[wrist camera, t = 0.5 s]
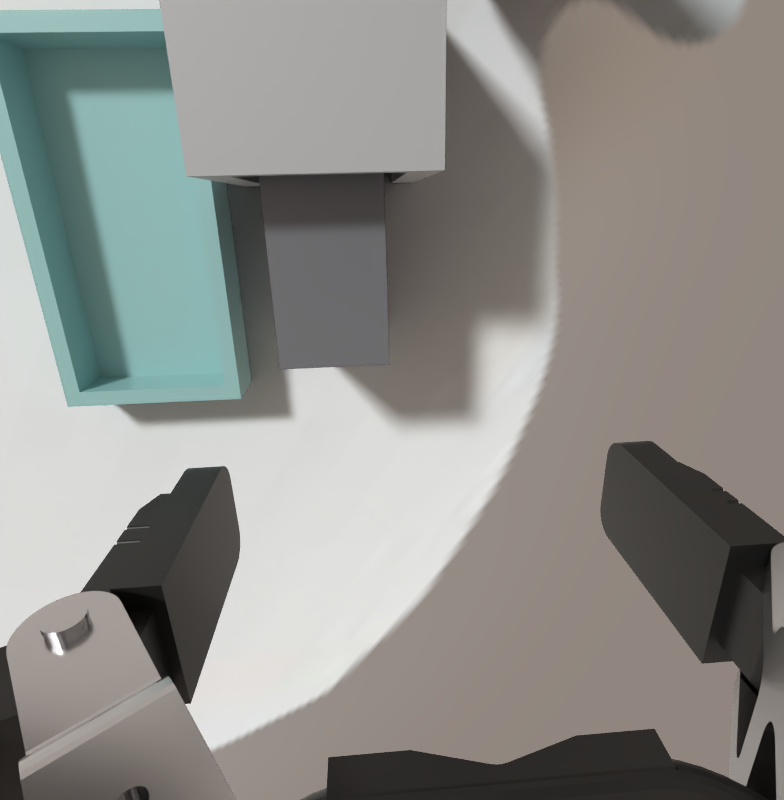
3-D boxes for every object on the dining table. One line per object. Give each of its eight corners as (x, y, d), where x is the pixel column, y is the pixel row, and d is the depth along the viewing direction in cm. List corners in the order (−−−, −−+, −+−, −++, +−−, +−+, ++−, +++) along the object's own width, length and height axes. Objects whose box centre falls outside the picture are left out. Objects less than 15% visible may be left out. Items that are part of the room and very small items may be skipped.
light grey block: (222, -7, 25) (137, -143, 15) (413, -9, 25) (448, -140, 16) (245, 186, 28) (186, 176, 18) (415, 182, 28) (445, 170, 19)
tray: (8, 33, 25) (-38, 10, 22) (206, 31, 25) (187, 8, 22) (94, 388, 31) (68, 406, 28) (251, 381, 32) (240, 398, 29)
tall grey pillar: (275, 79, 26) (242, 29, 19) (373, 77, 27) (379, 27, 19) (299, 334, 31) (280, 375, 24) (382, 331, 31) (389, 370, 24)
